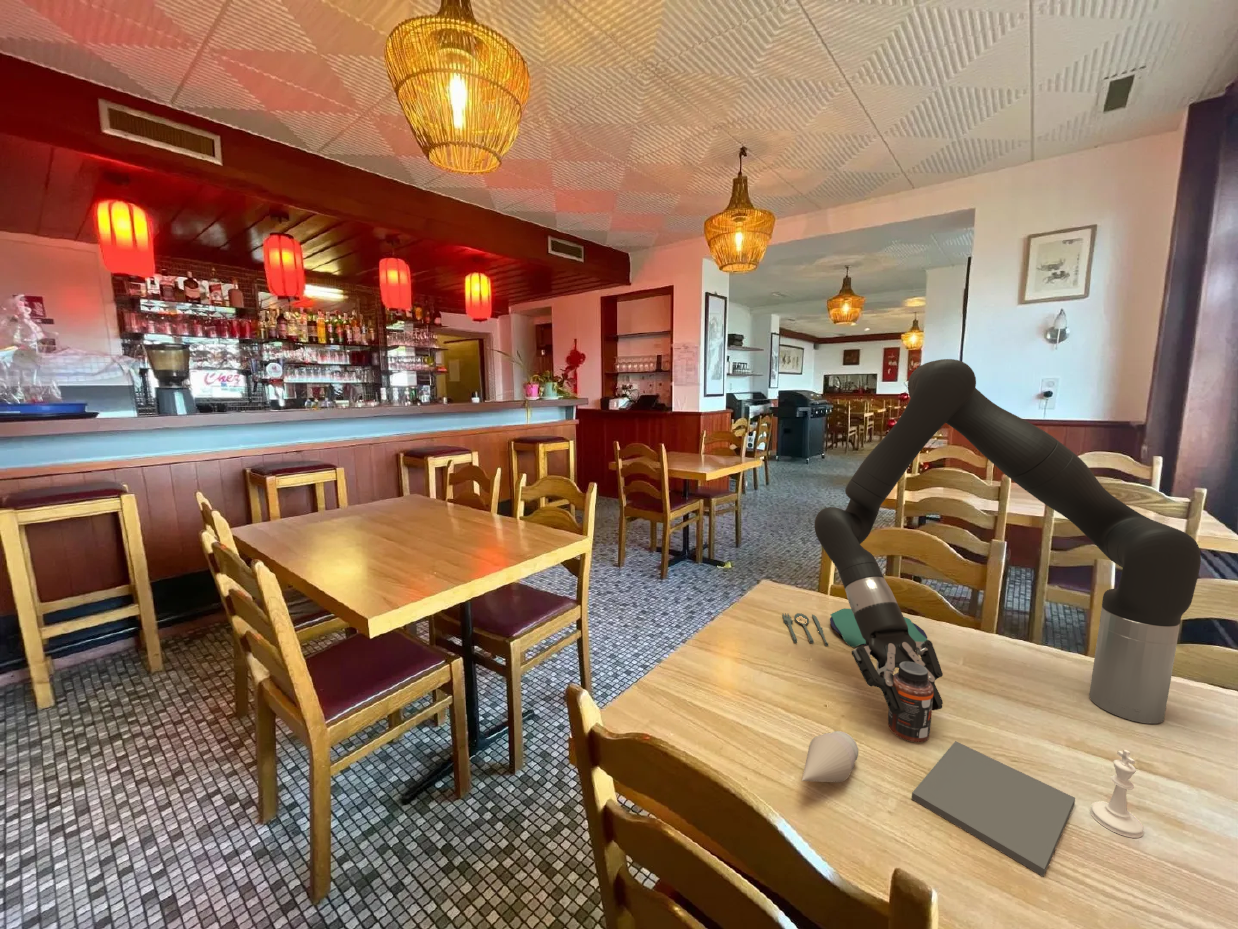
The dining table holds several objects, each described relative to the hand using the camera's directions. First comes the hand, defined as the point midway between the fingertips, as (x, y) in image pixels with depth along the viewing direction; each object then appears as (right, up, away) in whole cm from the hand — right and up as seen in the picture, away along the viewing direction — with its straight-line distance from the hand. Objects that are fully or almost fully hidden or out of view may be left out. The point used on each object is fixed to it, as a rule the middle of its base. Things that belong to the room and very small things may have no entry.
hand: (918, 711), depth 78 cm
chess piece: (+17, -7, -14) cm, 23 cm away
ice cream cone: (-18, -7, -7) cm, 20 cm away
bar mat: (+3, -7, -11) cm, 14 cm away
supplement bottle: (0, -5, +2) cm, 5 cm away
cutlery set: (+7, 0, +36) cm, 37 cm away
